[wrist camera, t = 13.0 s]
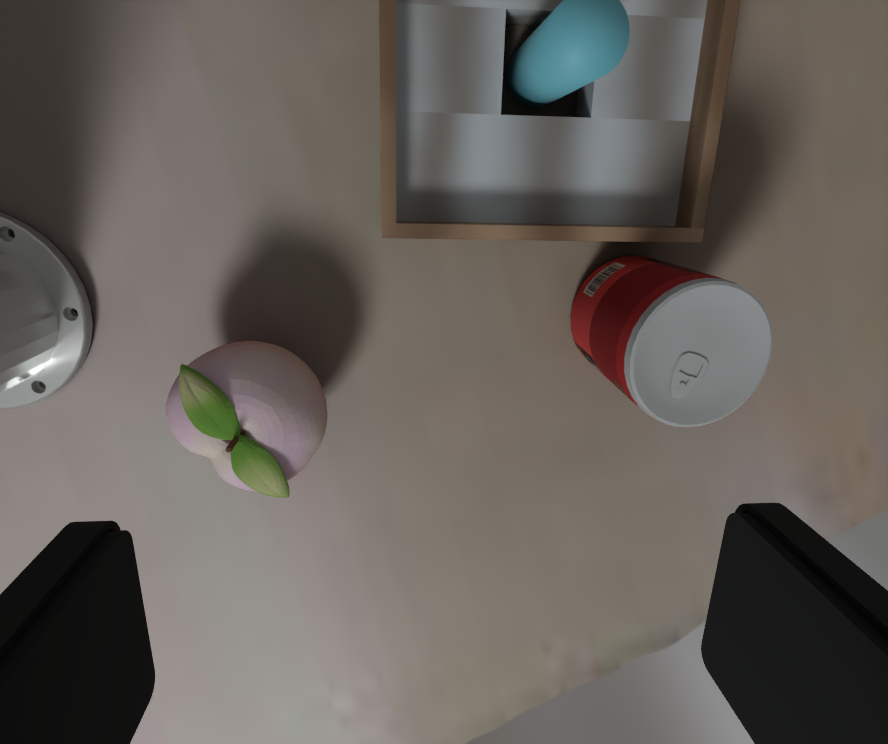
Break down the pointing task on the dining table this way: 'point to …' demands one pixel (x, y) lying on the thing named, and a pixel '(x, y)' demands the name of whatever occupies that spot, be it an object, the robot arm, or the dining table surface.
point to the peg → (568, 51)
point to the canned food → (673, 338)
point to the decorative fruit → (249, 414)
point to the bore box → (550, 127)
